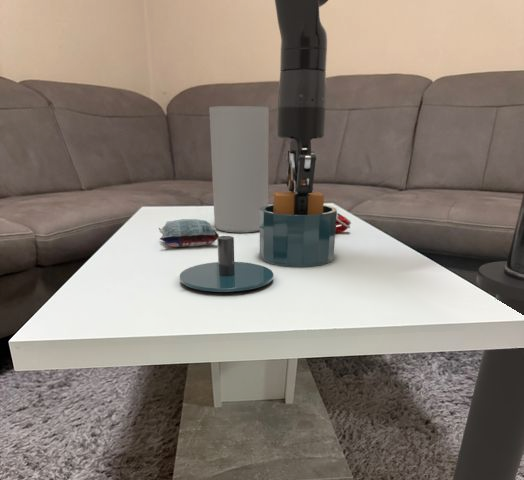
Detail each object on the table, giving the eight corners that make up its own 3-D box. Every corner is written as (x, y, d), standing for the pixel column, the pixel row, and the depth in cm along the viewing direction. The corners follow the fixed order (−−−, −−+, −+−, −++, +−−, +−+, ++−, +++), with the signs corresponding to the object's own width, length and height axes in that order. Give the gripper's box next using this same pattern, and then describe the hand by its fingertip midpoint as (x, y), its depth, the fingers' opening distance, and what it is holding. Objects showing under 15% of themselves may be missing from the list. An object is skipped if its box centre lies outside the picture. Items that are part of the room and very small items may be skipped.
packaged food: (159, 240, 94) (157, 216, 92) (216, 238, 97) (215, 214, 94) (160, 251, 87) (158, 225, 85) (222, 248, 89) (221, 222, 87)
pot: (298, 245, 91) (300, 201, 87) (348, 258, 82) (352, 209, 78) (245, 255, 84) (245, 207, 80) (293, 271, 74) (295, 218, 71)
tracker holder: (321, 235, 94) (286, 218, 99) (319, 254, 97) (285, 236, 102) (357, 215, 100) (322, 199, 105) (354, 233, 103) (320, 217, 108)
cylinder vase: (267, 233, 101) (267, 106, 90) (211, 233, 101) (205, 106, 91) (268, 223, 112) (269, 108, 101) (218, 222, 113) (213, 108, 102)
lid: (237, 263, 79) (236, 224, 76) (292, 283, 69) (293, 239, 66) (163, 278, 71) (159, 235, 68) (213, 303, 61) (210, 254, 58)
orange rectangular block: (317, 215, 82) (318, 191, 80) (322, 219, 78) (324, 195, 76) (273, 215, 81) (273, 192, 79) (276, 220, 77) (276, 195, 75)
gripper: (336, 103, 66) (328, 223, 74) (315, 107, 79) (310, 209, 86) (285, 102, 65) (282, 224, 73) (272, 106, 78) (271, 210, 85)
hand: (297, 215), depth 79 cm, fingers closed on orange rectangular block, 4 cm apart
